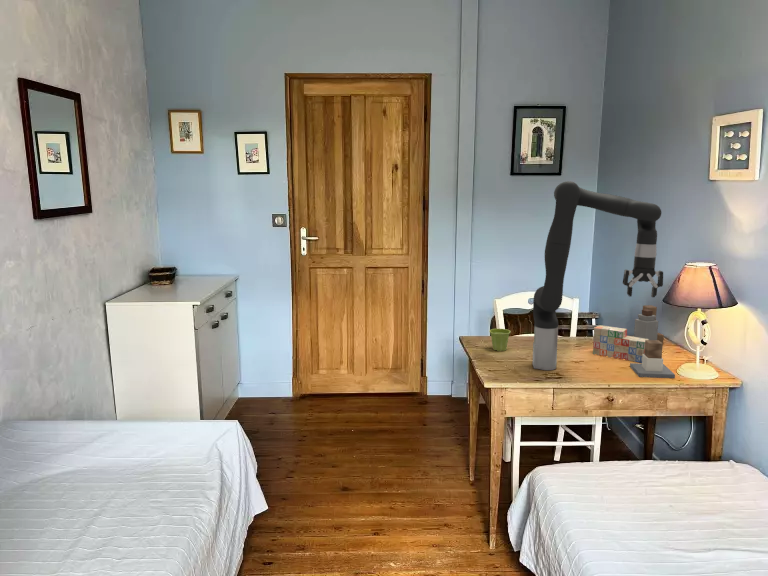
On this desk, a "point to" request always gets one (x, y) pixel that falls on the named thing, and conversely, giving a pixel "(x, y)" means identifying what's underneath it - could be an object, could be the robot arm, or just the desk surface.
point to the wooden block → (654, 309)
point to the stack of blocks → (617, 344)
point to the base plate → (651, 373)
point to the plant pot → (499, 338)
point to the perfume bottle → (646, 325)
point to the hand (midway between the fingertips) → (641, 296)
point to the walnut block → (653, 349)
